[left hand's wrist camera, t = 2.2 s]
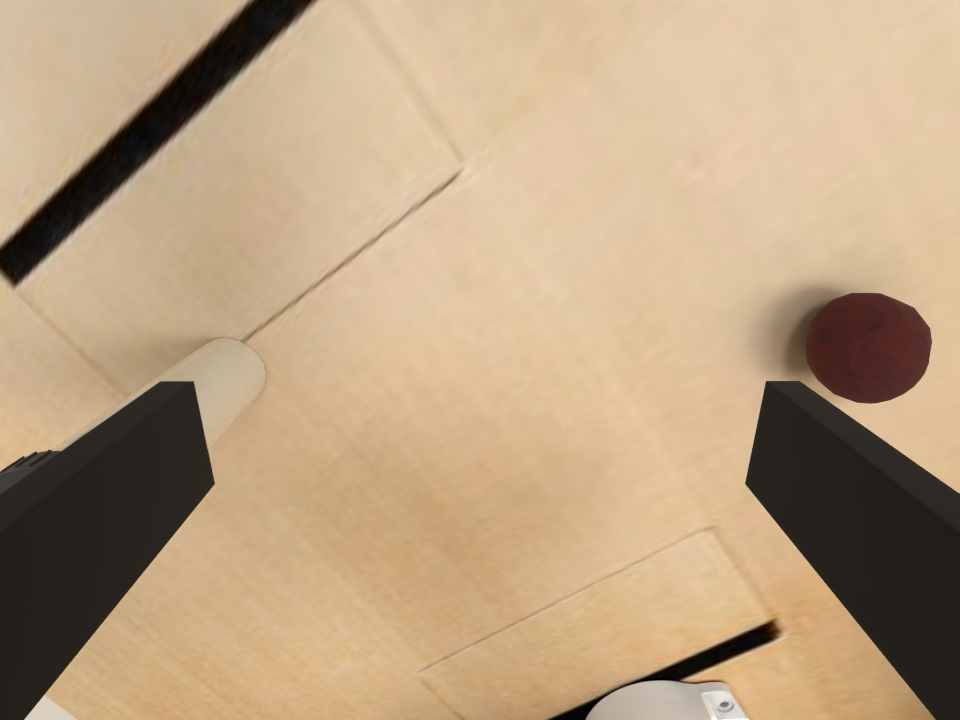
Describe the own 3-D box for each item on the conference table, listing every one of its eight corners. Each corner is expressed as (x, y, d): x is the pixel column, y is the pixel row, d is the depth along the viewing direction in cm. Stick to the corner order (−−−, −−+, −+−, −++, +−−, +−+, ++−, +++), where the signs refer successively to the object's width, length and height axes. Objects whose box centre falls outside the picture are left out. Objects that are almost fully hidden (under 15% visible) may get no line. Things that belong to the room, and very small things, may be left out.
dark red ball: (808, 394, 43) (867, 438, 36) (769, 316, 40) (825, 347, 34) (899, 345, 41) (979, 381, 35) (864, 261, 39) (942, 283, 32)
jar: (210, 409, 43) (28, 580, 26) (183, 345, 42) (-34, 484, 24) (276, 396, 43) (136, 561, 25) (251, 331, 41) (82, 462, 24)
